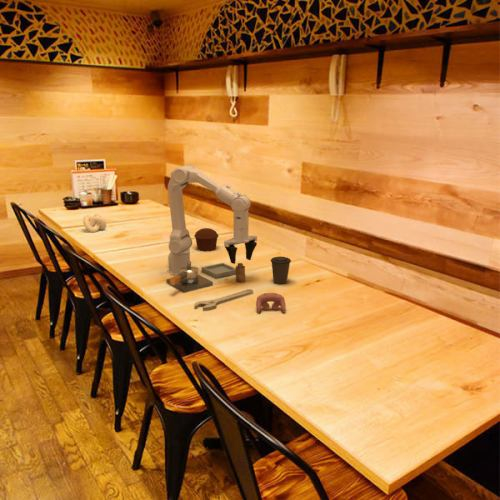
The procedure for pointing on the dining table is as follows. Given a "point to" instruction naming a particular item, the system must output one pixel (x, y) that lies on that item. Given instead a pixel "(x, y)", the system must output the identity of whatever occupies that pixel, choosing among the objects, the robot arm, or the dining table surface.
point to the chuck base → (191, 284)
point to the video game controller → (270, 297)
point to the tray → (219, 270)
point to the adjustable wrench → (221, 300)
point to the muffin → (206, 239)
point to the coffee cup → (280, 269)
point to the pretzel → (94, 223)
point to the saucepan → (186, 275)
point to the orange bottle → (240, 273)
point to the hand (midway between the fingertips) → (240, 261)
